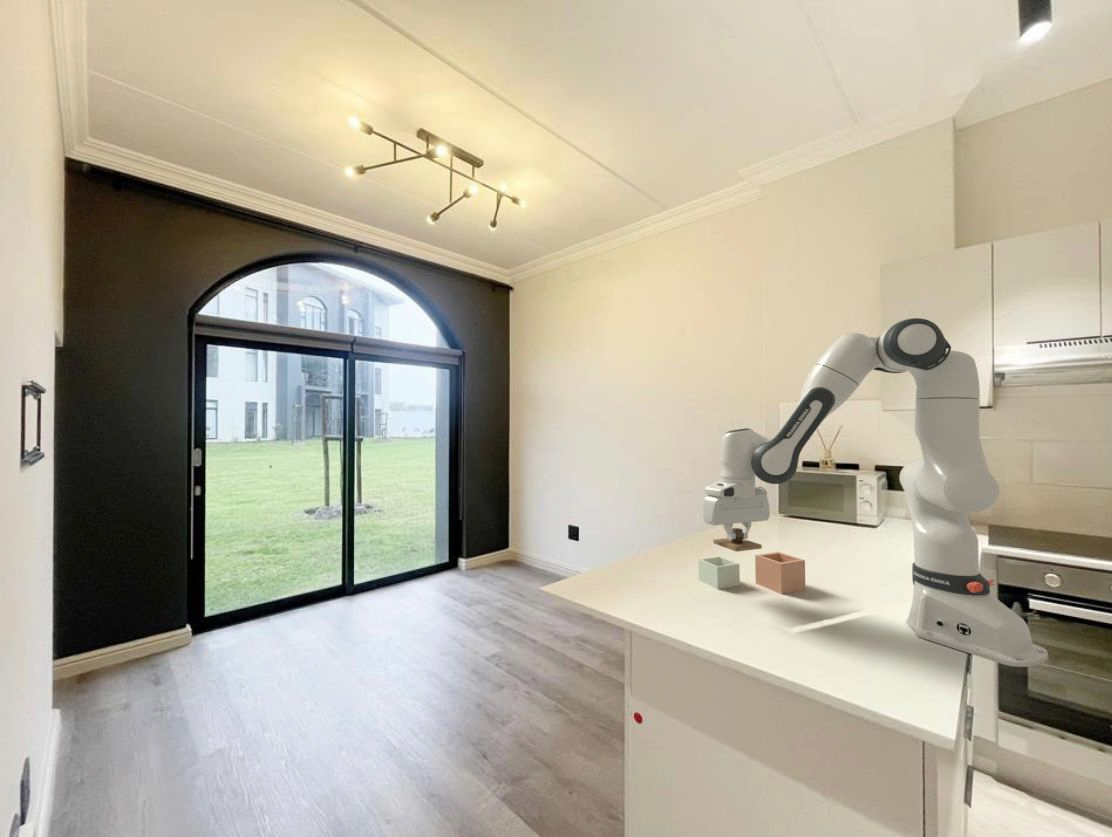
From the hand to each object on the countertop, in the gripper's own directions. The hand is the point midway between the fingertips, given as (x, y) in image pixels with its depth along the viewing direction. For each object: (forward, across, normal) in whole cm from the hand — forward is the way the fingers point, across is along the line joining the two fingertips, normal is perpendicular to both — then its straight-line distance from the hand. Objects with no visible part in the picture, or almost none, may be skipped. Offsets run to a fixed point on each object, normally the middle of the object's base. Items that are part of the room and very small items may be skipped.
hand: (737, 538), depth 120 cm
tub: (+16, -2, -10) cm, 19 cm away
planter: (+16, -16, -1) cm, 23 cm away
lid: (+2, 0, 0) cm, 2 cm away
